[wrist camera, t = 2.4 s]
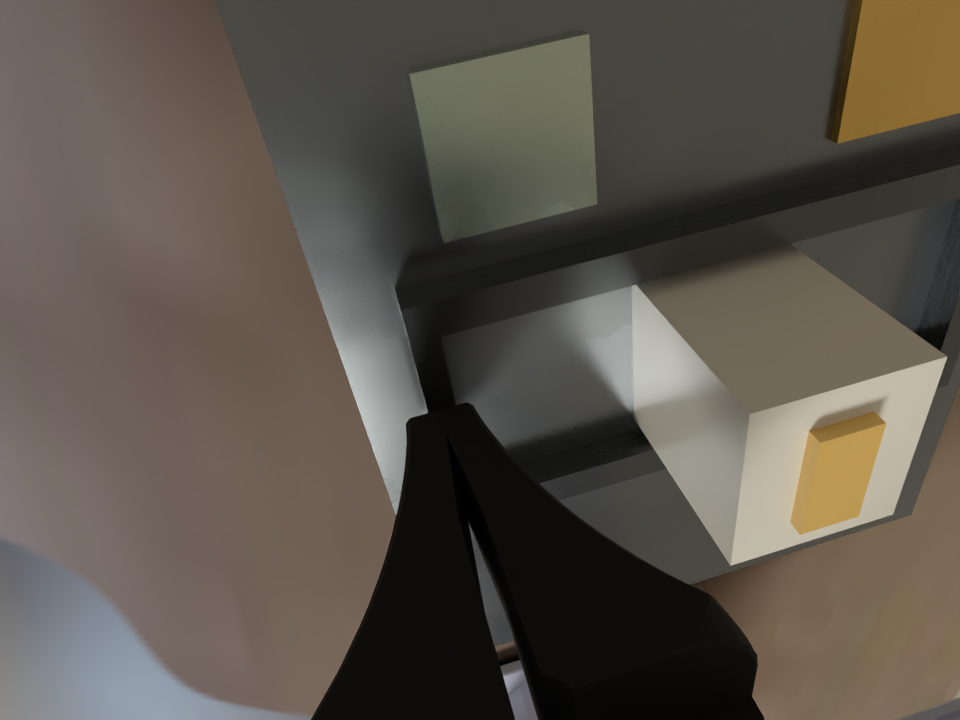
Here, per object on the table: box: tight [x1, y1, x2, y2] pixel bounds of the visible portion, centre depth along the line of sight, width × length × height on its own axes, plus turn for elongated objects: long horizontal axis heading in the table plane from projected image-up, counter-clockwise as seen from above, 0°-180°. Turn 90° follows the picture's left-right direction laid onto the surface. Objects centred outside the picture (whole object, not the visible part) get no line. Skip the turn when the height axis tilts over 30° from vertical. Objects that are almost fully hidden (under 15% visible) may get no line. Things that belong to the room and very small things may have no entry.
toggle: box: [632, 244, 947, 566], centre depth 14 cm, size 4×4×5 cm
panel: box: [215, 0, 960, 646], centre depth 16 cm, size 20×16×2 cm
